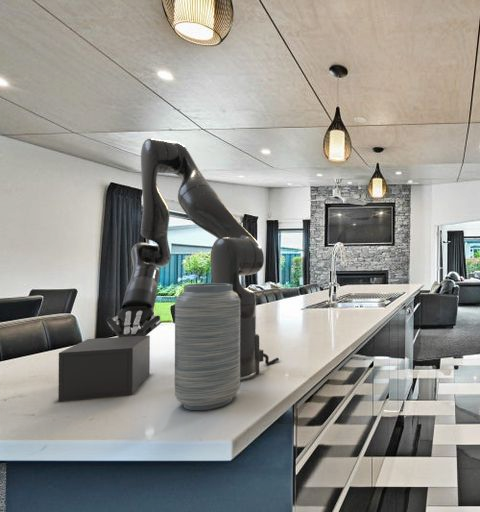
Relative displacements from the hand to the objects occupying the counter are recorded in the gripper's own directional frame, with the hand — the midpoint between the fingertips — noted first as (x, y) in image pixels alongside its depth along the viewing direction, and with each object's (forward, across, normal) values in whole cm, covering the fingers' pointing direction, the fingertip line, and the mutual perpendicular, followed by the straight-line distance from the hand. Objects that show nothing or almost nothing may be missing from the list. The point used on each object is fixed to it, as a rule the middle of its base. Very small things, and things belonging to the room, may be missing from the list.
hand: (127, 349), depth 98 cm
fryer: (+13, 0, -6) cm, 14 cm away
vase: (+25, +22, -18) cm, 38 cm away
